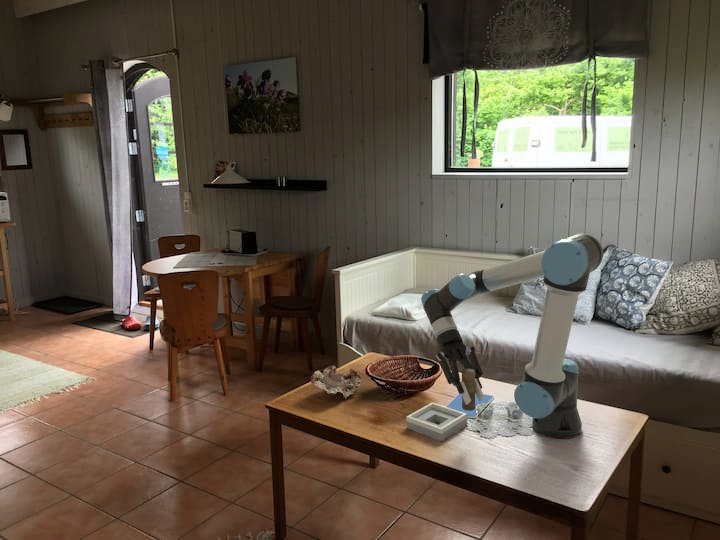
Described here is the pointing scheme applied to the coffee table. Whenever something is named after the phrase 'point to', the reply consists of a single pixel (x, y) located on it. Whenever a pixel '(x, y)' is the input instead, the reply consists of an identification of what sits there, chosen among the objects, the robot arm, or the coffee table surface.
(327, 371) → the mineral formation
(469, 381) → the peg
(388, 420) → the coffee table surface
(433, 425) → the tray
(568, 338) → the robot arm
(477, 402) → the blue rectangular panel
